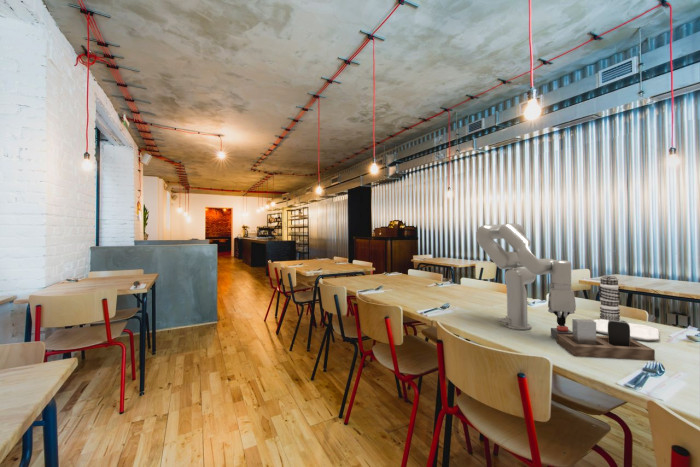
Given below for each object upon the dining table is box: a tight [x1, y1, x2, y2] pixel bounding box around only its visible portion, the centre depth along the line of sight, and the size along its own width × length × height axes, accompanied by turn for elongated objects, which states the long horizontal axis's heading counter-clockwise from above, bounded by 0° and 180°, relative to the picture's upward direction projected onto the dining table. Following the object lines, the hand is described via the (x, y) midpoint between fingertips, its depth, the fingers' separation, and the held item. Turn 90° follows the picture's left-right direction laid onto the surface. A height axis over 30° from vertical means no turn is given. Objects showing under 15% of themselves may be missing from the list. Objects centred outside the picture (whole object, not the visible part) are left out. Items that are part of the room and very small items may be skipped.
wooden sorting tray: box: [555, 318, 656, 361], centre depth 128 cm, size 28×15×12 cm, turn 79°
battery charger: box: [607, 320, 630, 347], centre depth 127 cm, size 7×4×11 cm, turn 53°
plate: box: [593, 318, 660, 342], centre depth 150 cm, size 25×25×2 cm
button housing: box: [550, 327, 573, 340], centre depth 142 cm, size 7×7×4 cm
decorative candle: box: [598, 275, 621, 321], centre depth 168 cm, size 9×9×25 cm
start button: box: [556, 324, 569, 332], centre depth 142 cm, size 4×4×2 cm
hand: (561, 325), depth 142 cm, fingers closed
